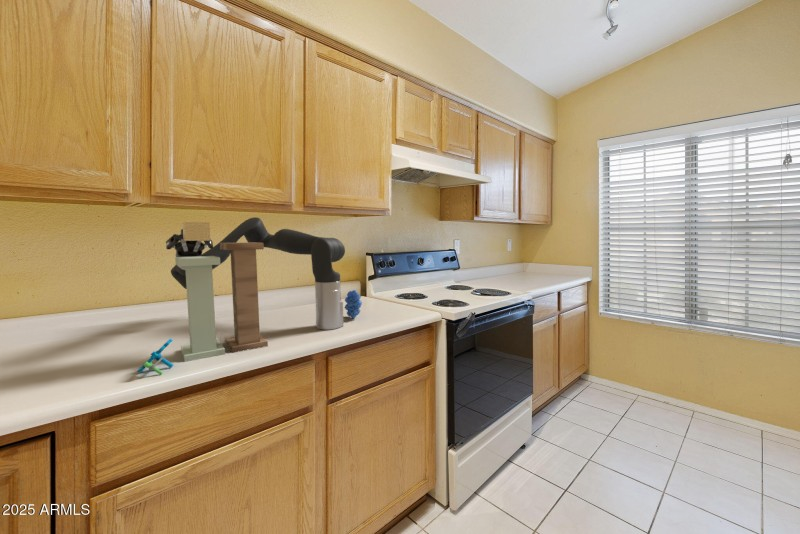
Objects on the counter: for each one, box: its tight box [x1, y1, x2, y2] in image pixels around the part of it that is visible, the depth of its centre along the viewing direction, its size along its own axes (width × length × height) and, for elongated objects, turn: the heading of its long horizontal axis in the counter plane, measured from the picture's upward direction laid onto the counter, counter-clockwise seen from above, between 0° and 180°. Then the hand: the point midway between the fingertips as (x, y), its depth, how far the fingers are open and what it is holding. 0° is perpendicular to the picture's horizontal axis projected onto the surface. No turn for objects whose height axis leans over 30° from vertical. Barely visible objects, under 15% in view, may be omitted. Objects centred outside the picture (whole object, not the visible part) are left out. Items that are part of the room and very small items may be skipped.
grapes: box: [344, 289, 363, 319], centre depth 144 cm, size 12×7×12 cm, turn 37°
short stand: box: [174, 256, 226, 362], centre depth 101 cm, size 12×10×28 cm
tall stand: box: [220, 242, 269, 353], centre depth 108 cm, size 12×10×32 cm
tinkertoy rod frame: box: [137, 337, 174, 376], centre depth 89 cm, size 11×6×10 cm
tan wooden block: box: [182, 221, 211, 242], centre depth 104 cm, size 21×6×5 cm, turn 36°
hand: (192, 230), depth 107 cm, fingers closed on tan wooden block, 3 cm apart
